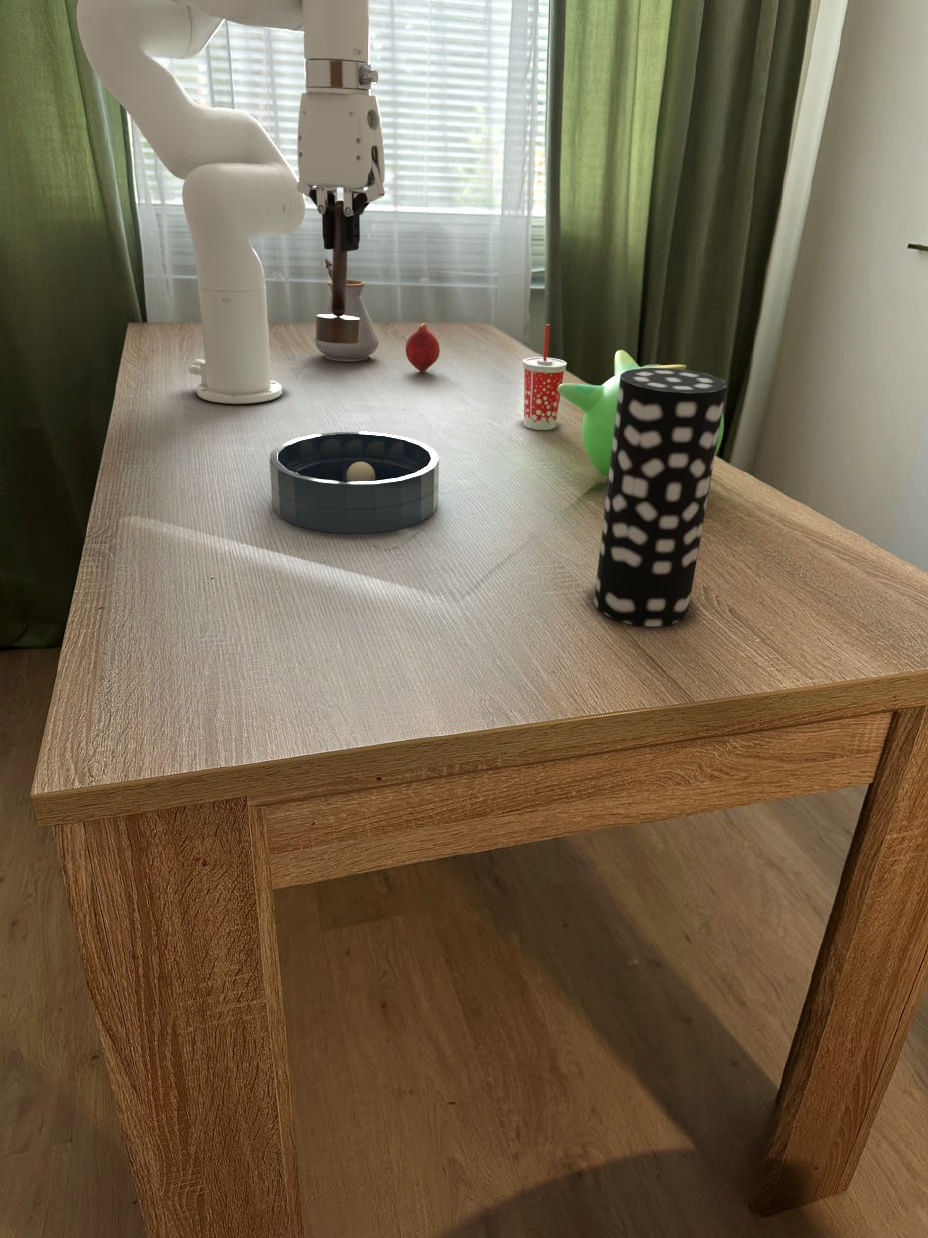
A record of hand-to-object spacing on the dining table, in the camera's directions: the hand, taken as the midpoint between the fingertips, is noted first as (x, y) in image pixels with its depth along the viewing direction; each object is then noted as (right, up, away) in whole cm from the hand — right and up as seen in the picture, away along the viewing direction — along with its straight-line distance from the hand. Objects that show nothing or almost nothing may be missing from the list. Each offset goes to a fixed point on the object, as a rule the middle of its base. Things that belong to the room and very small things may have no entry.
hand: (341, 248), depth 116 cm
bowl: (+4, -35, -16) cm, 38 cm away
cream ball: (+4, -31, -12) cm, 34 cm away
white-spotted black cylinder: (+31, -46, -34) cm, 65 cm away
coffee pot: (-7, +3, +54) cm, 55 cm away
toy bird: (+37, -30, -4) cm, 48 cm away
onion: (+8, -4, +43) cm, 44 cm away
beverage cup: (+26, -19, +16) cm, 36 cm away
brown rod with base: (-1, -10, +4) cm, 11 cm away
